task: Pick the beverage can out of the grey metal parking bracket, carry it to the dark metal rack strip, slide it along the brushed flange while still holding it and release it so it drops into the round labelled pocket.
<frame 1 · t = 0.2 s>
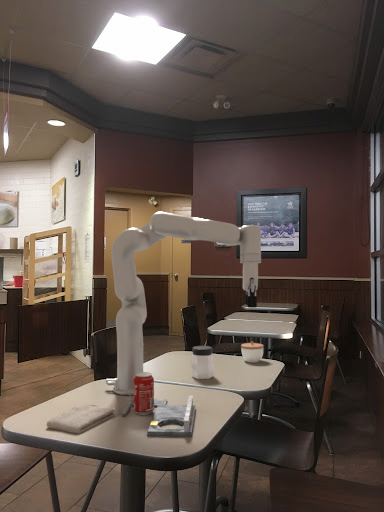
hand: (251, 306, 160), 31 cm above the table, fingers open, 9 cm apart
rack: (171, 428, 124), on the table
beverage can: (143, 413, 138), on the table
jar: (202, 377, 182), on the table
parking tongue: (143, 412, 138), on the table
lidded jar: (252, 361, 210), on the table
washcloth: (82, 423, 131), on the table
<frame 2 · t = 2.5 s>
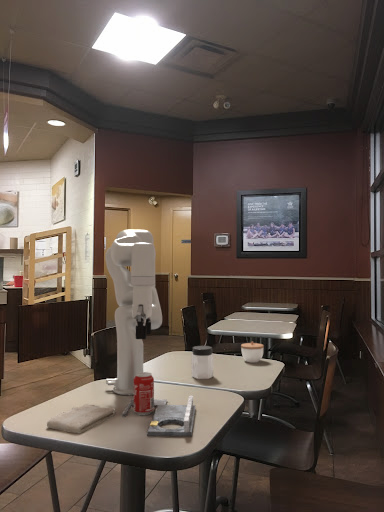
hand: (143, 336, 138), 24 cm above the table, fingers open, 9 cm apart
nothing on the table moved.
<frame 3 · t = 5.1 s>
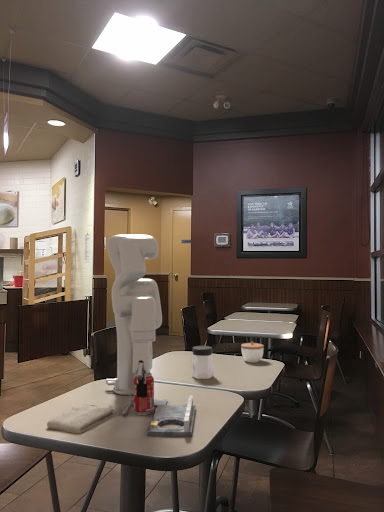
hand: (143, 392, 138), 6 cm above the table, fingers closed on beverage can, 6 cm apart
beverage can: (143, 413, 138), on the table, touching gripper
everything else where it was.
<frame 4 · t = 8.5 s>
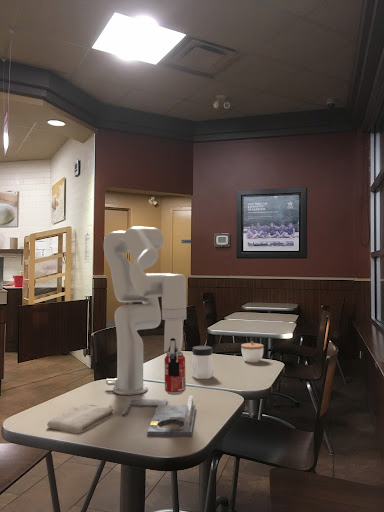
hand: (175, 372, 134), 13 cm above the table, fingers closed on beverage can, 6 cm apart
beverage can: (175, 393, 134), point 7 cm above the table, touching gripper
everything else where it was.
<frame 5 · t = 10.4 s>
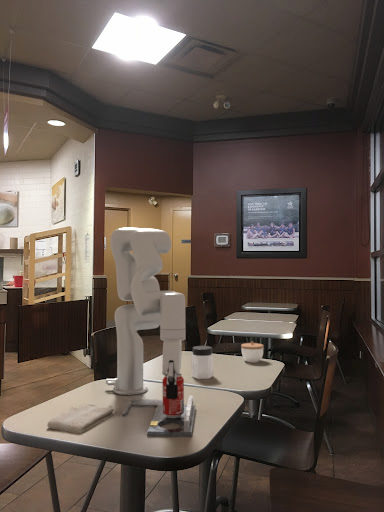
hand: (173, 394, 130), 8 cm above the table, fingers closed on beverage can, 6 cm apart
beverage can: (173, 415, 130), point 1 cm above the table, touching gripper
everything else where it was.
when the fingers open (8 cm above the table, at t = 12.1 s): beverage can drops 1 cm, on the table.
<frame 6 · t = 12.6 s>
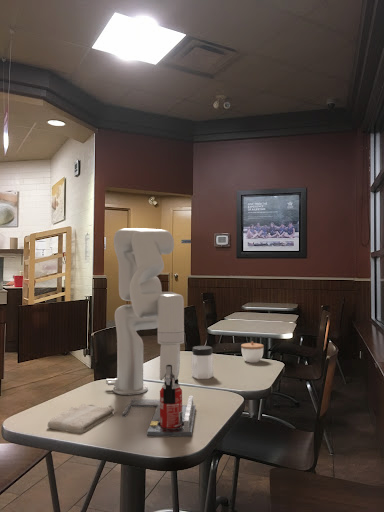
hand: (171, 398, 124), 8 cm above the table, fingers open, 9 cm apart
beverage can: (171, 428, 124), on the table
everything else where it was.
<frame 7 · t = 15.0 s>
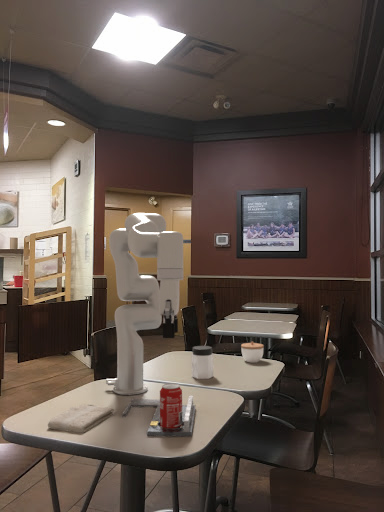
hand: (170, 335, 125), 26 cm above the table, fingers open, 9 cm apart
nothing on the table moved.
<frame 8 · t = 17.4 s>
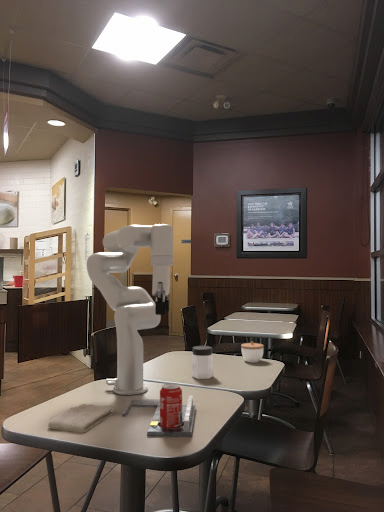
hand: (162, 312, 146), 30 cm above the table, fingers open, 9 cm apart
nothing on the table moved.
at the end: beverage can 0.2 cm from the rack (horizontally); beverage can touching table; beverage can tilted 0° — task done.
